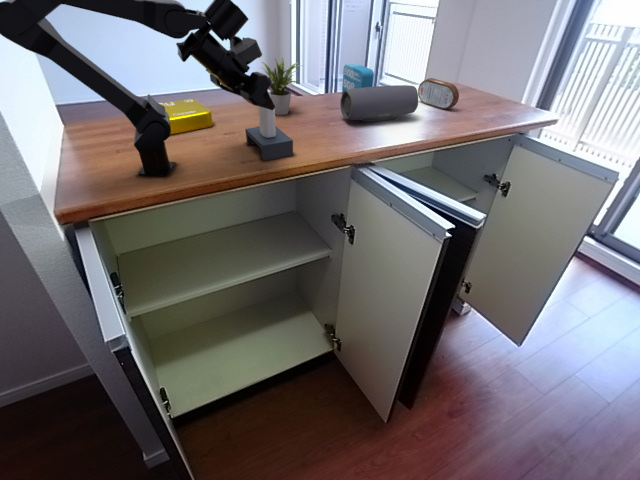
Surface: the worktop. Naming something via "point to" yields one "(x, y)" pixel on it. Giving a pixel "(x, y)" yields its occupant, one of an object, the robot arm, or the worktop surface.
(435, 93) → the tin
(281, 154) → the shelf
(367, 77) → the data package
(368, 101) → the bluetooth speaker
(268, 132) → the eye dropper bottle
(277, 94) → the house plant
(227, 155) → the worktop surface
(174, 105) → the element tile
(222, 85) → the robot arm
